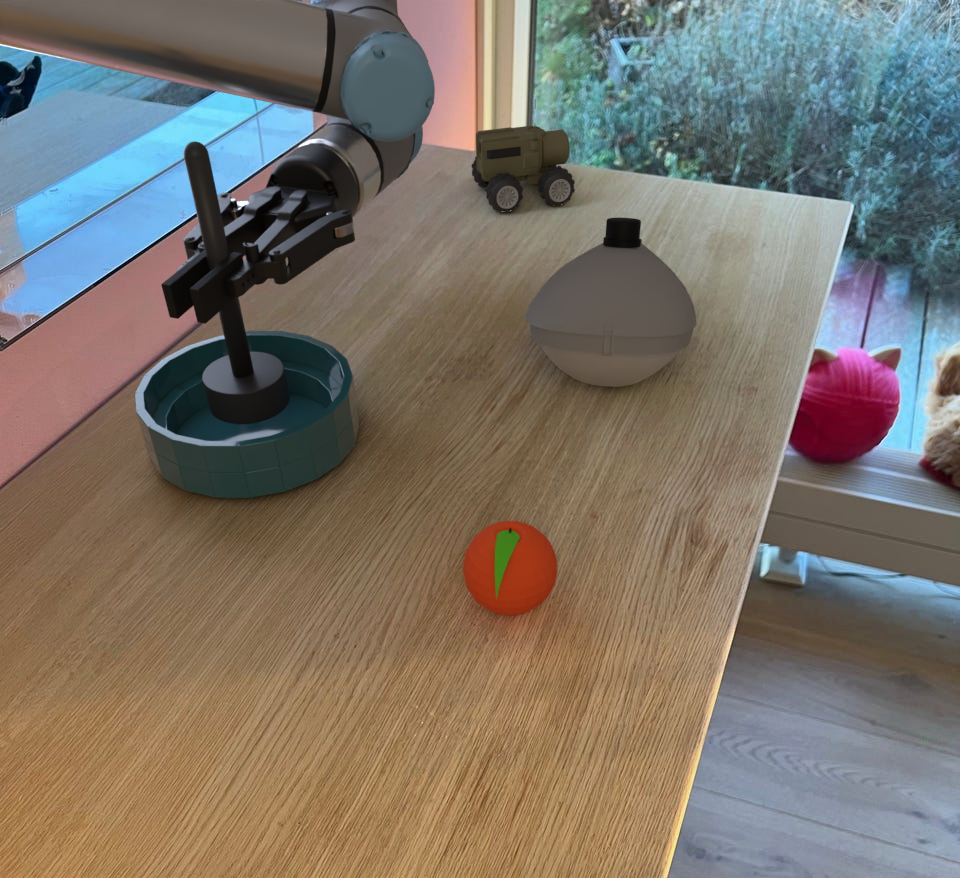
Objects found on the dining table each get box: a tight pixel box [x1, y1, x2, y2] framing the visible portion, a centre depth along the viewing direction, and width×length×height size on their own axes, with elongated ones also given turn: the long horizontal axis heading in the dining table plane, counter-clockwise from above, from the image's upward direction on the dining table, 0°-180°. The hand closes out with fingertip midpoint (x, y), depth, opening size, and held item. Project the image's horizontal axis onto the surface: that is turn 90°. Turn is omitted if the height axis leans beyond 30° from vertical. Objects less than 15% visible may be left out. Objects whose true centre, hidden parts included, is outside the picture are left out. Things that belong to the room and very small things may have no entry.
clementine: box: [462, 520, 558, 617], centre depth 75 cm, size 8×7×7 cm
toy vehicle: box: [471, 98, 576, 212], centre depth 127 cm, size 10×11×12 cm
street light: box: [524, 217, 698, 388], centre depth 101 cm, size 30×16×14 cm, turn 171°
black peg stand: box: [183, 141, 289, 424], centre depth 83 cm, size 7×7×22 cm
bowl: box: [134, 330, 360, 499], centre depth 92 cm, size 19×19×6 cm
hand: (184, 303), depth 79 cm, fingers closed on black peg stand, 2 cm apart
